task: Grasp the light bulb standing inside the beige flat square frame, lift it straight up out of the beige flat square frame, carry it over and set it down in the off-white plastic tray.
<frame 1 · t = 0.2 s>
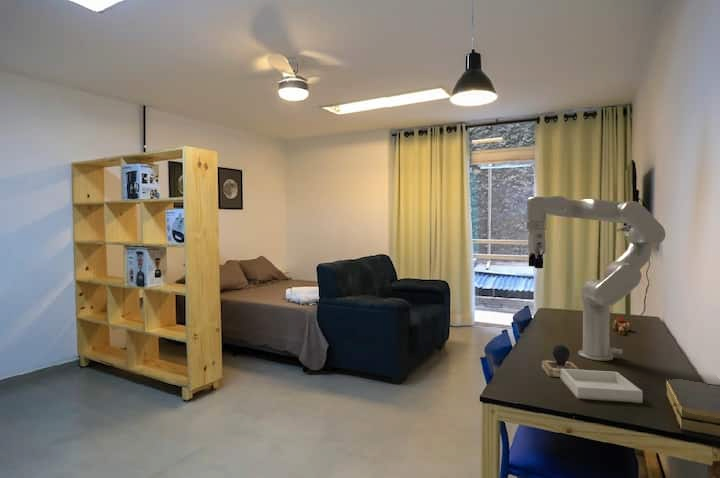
hand: (535, 267, 177), 36 cm above the table, tool pointing down, fingers open, 9 cm apart
tray: (598, 389, 136), on the table
beige flat square frame: (560, 372, 153), on the table
light bulb: (560, 372, 153), resting in beige flat square frame
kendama: (621, 332, 218), on the table
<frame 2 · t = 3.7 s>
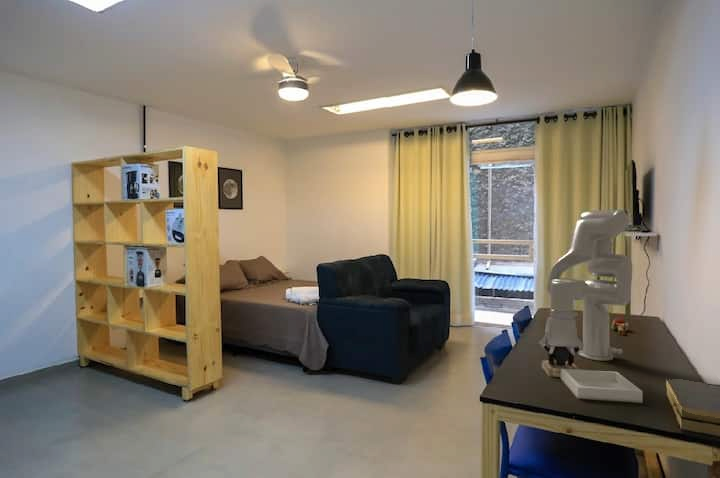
hand: (560, 364, 153), 3 cm above the table, tool pointing down, fingers closed on light bulb, 5 cm apart
light bulb: (560, 372, 153), resting in beige flat square frame, touching gripper
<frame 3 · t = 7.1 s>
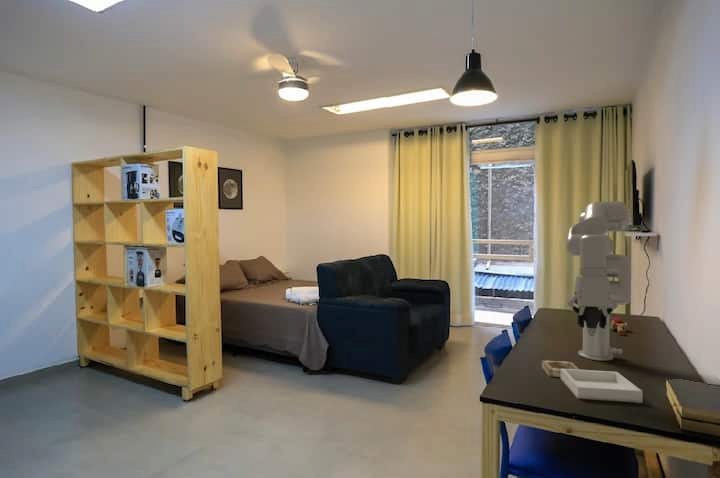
hand: (591, 326, 139), 20 cm above the table, tool pointing down, fingers closed on light bulb, 5 cm apart
light bulb: (591, 336, 139), point 17 cm above the table, touching gripper
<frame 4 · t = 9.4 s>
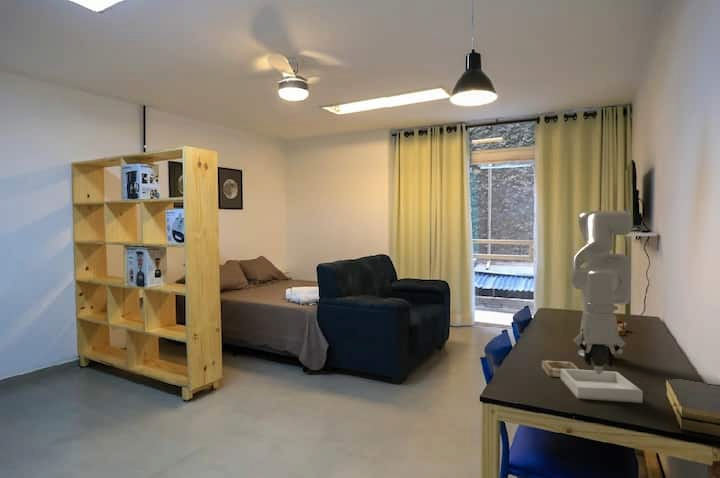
hand: (598, 364, 136), 8 cm above the table, tool pointing down, fingers closed on light bulb, 5 cm apart
light bulb: (598, 374, 136), point 5 cm above the table, touching gripper
when the fingers open (5 cm above the table, at t = 10.6 s): light bulb stays where it is, resting on tray.
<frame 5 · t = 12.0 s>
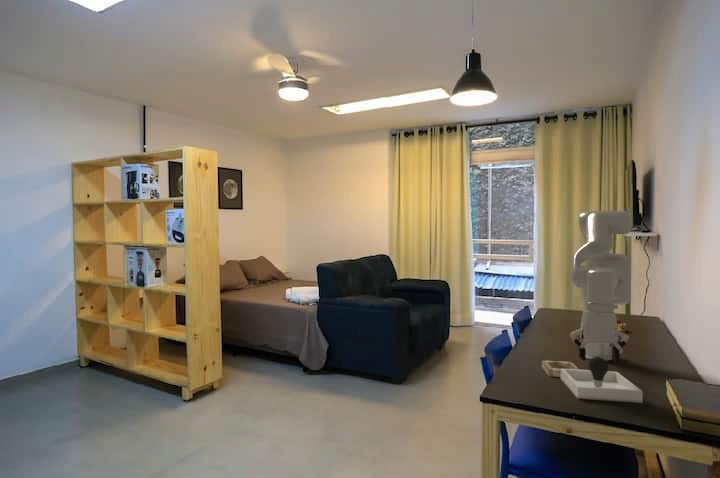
hand: (598, 360, 137), 10 cm above the table, tool pointing down, fingers open, 9 cm apart
light bulb: (597, 388, 137), resting on tray
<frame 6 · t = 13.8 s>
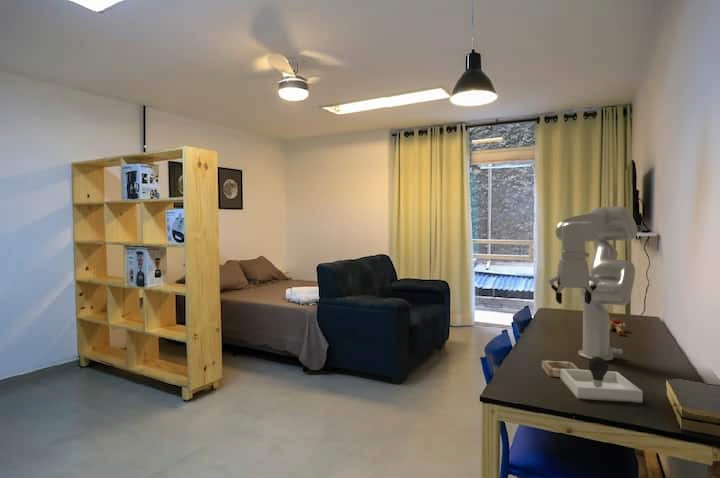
hand: (573, 303, 154), 25 cm above the table, tool pointing down, fingers open, 9 cm apart
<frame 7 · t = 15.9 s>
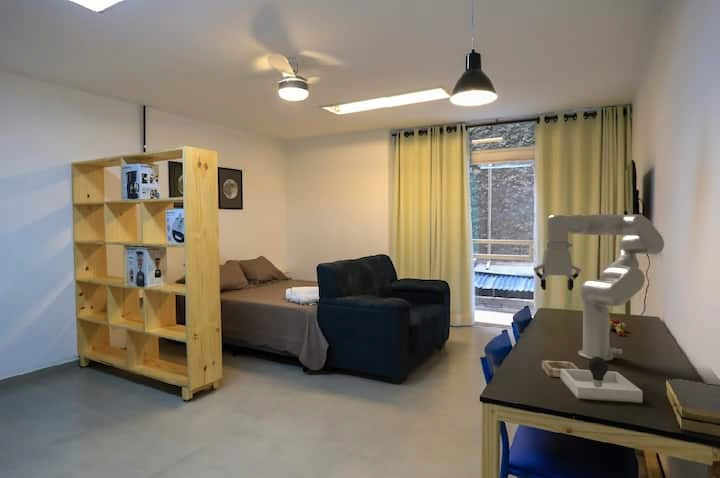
hand: (556, 289, 166), 28 cm above the table, tool pointing down, fingers open, 9 cm apart
at the end: light bulb inside the target area on the tray (0.2 cm from its centre), point 0.4 cm above the tray's base; the gripper is holding nothing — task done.
